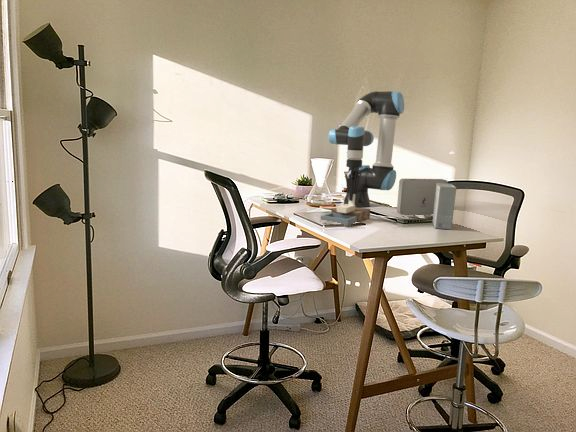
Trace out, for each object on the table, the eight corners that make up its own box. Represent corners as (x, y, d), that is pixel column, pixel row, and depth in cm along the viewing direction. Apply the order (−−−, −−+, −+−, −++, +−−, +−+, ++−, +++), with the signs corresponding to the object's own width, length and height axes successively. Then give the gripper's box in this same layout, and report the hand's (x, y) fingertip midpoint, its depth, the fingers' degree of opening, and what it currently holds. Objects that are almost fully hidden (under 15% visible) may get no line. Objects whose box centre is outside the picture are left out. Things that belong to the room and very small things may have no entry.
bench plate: (344, 215, 241) (345, 205, 240) (369, 219, 234) (370, 209, 233) (330, 219, 229) (331, 209, 228) (356, 223, 221) (357, 213, 220)
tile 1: (341, 210, 227) (341, 205, 226) (350, 211, 224) (350, 206, 224) (336, 211, 223) (336, 206, 222) (346, 213, 220) (346, 208, 220)
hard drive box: (451, 230, 216) (456, 187, 212) (434, 228, 218) (439, 186, 214) (447, 223, 231) (452, 183, 227) (431, 222, 233) (435, 182, 229)
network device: (401, 219, 237) (405, 180, 233) (393, 215, 245) (397, 177, 241) (446, 218, 243) (450, 180, 239) (437, 215, 251) (441, 178, 247)
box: (330, 219, 229) (330, 212, 228) (356, 223, 221) (357, 216, 220) (320, 222, 220) (320, 215, 220) (347, 227, 213) (347, 219, 212)
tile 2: (345, 208, 231) (346, 203, 231) (355, 210, 228) (355, 205, 228) (341, 210, 227) (341, 205, 226) (350, 211, 224) (350, 206, 224)
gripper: (353, 157, 233) (350, 204, 237) (341, 158, 222) (338, 207, 227) (367, 158, 229) (363, 206, 233) (355, 160, 218) (352, 209, 223)
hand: (351, 206), depth 230 cm, fingers closed
